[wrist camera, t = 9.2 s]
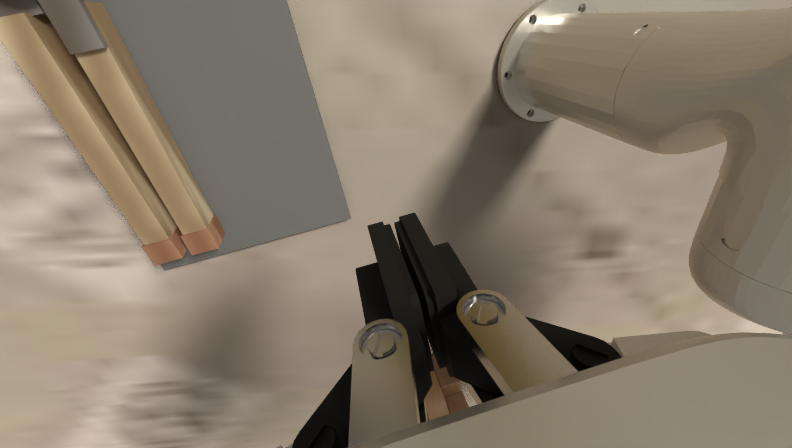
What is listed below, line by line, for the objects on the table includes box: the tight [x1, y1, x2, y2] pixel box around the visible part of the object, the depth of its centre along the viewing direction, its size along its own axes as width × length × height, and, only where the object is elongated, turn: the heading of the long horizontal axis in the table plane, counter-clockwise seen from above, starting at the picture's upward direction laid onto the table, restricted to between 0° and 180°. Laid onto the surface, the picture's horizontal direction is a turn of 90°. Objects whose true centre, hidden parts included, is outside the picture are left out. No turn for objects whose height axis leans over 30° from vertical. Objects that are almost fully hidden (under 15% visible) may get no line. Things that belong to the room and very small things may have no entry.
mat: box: [74, 0, 351, 270], centre depth 34 cm, size 22×32×1 cm
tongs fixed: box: [0, 0, 187, 266], centre depth 31 cm, size 5×27×4 cm, turn 10°
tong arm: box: [38, 0, 225, 255], centre depth 31 cm, size 6×27×4 cm, turn 10°
